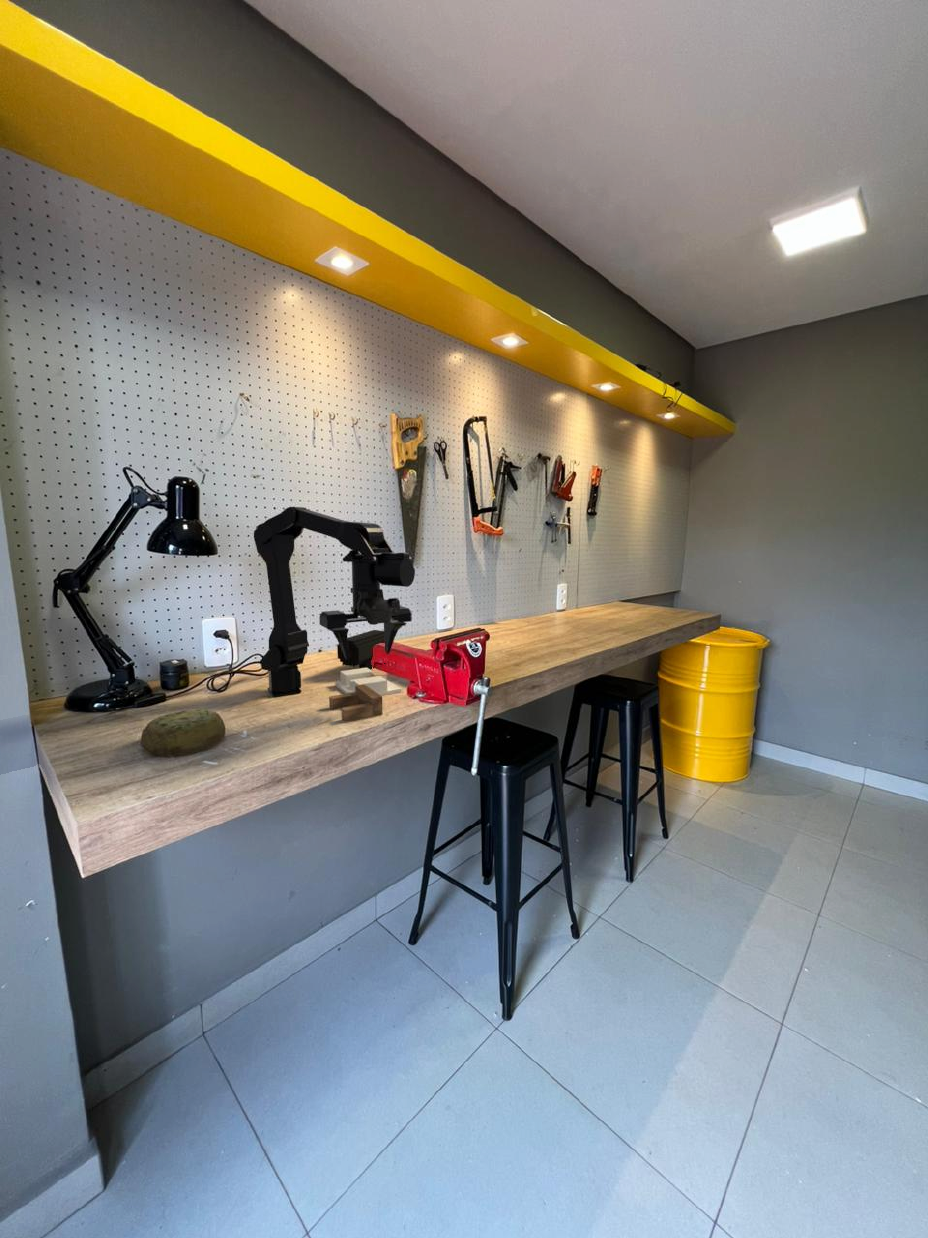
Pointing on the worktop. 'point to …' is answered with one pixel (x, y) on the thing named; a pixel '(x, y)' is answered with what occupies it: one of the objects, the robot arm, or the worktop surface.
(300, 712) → the worktop surface
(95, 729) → the worktop surface
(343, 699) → the wooden c-shaped bracket
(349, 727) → the worktop surface
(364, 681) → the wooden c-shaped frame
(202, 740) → the olive green pebble
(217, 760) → the worktop surface
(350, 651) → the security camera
